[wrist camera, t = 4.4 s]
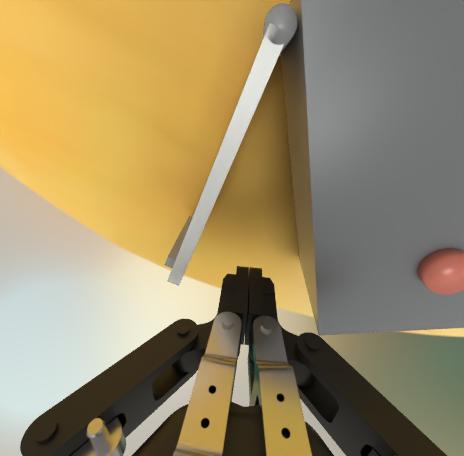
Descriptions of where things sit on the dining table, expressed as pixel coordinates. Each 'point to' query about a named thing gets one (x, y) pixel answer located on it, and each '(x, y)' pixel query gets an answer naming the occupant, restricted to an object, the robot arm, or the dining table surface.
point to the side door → (234, 133)
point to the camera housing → (378, 161)
